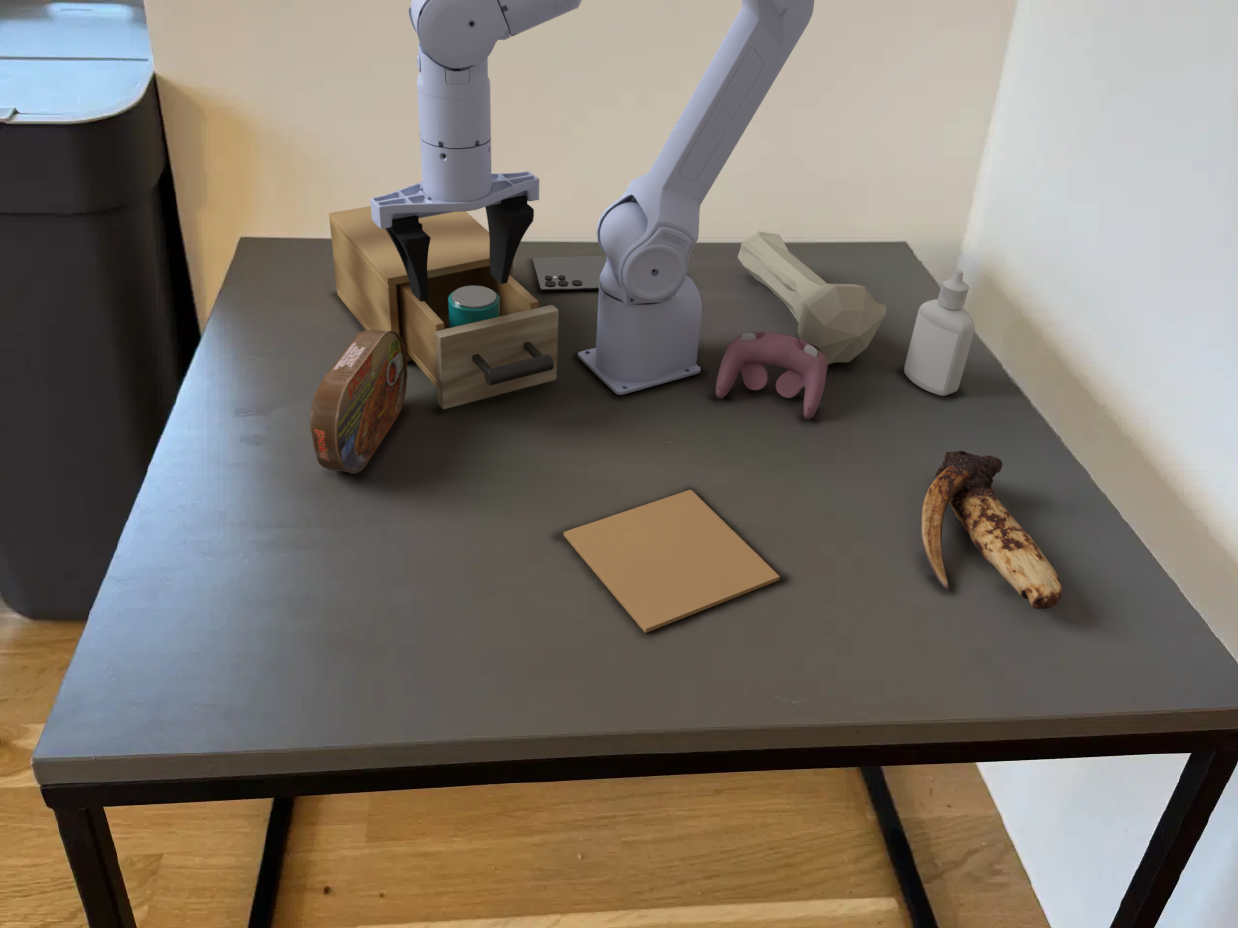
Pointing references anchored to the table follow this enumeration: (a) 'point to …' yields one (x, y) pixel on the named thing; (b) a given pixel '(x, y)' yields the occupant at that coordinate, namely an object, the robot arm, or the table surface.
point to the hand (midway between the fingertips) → (460, 287)
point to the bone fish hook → (985, 528)
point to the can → (472, 305)
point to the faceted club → (814, 299)
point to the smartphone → (569, 272)
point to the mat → (670, 559)
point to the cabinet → (397, 260)
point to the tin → (359, 400)
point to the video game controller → (778, 350)
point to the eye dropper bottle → (941, 339)
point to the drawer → (479, 339)
